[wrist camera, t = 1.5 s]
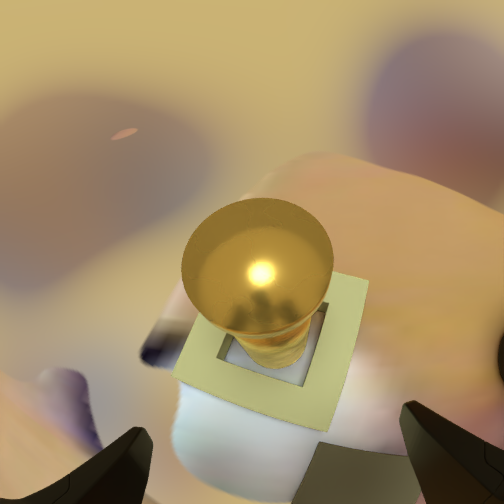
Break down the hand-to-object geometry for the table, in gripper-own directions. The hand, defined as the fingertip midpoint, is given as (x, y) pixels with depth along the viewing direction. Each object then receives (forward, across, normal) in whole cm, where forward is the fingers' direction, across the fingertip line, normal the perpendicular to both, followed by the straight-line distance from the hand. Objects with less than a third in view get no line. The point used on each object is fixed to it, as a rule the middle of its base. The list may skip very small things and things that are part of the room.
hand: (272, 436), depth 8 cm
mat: (+3, -5, +15) cm, 16 cm away
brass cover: (+14, 0, +4) cm, 14 cm away
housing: (+14, 0, +4) cm, 14 cm away
